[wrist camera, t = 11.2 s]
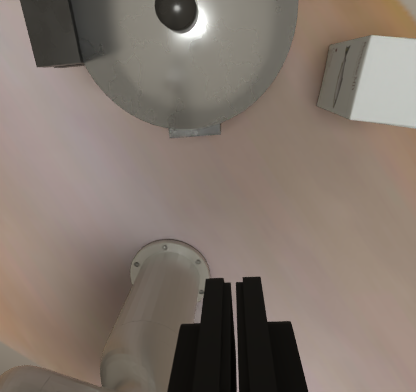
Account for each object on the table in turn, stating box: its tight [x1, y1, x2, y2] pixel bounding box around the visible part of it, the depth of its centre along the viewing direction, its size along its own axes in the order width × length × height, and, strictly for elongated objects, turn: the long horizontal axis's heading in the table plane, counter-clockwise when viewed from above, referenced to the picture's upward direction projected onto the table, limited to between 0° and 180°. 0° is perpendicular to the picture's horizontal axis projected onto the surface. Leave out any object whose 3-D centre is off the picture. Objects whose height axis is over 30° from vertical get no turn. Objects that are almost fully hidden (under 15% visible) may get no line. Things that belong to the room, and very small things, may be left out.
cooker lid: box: [20, 0, 298, 129], centre depth 26 cm, size 19×22×4 cm
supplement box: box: [317, 35, 416, 128], centre depth 34 cm, size 7×7×13 cm
